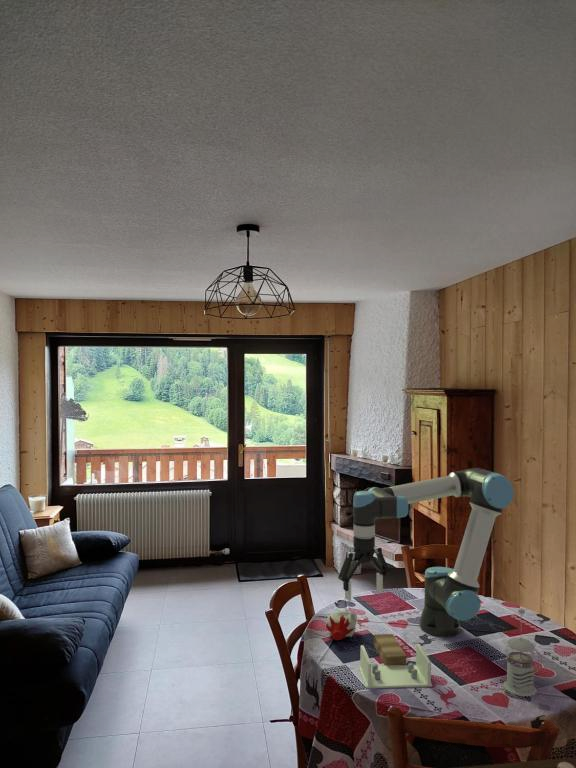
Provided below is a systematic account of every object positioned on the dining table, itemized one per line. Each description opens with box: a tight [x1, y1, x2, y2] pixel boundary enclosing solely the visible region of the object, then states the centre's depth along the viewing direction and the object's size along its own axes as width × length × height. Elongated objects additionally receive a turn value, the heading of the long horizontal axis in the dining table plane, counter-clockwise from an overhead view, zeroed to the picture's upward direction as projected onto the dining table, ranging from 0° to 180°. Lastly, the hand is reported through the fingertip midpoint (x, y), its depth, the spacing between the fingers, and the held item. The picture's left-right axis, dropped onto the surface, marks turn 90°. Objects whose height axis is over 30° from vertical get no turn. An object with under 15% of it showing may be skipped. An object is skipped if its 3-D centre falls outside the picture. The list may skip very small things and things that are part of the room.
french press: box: [503, 608, 543, 697], centre depth 174 cm, size 10×12×25 cm
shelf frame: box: [358, 643, 433, 689], centre depth 179 cm, size 21×12×8 cm, turn 94°
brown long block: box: [373, 633, 407, 666], centre depth 193 cm, size 16×7×4 cm, turn 6°
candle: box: [325, 610, 358, 641], centre depth 206 cm, size 9×11×15 cm
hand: (364, 595), depth 195 cm, fingers open, 13 cm apart
